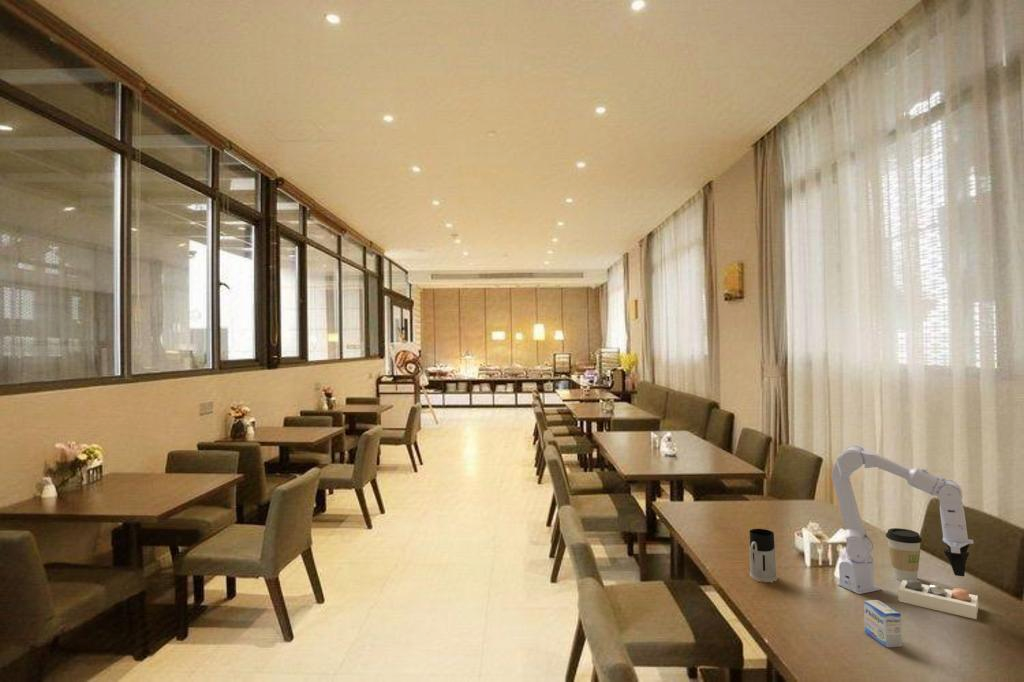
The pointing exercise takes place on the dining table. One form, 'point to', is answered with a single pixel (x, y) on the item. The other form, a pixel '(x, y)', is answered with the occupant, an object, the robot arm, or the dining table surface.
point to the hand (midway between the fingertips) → (959, 571)
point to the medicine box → (882, 623)
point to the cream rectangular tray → (939, 601)
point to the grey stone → (914, 584)
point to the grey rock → (937, 589)
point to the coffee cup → (904, 552)
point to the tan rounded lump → (960, 594)
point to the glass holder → (762, 555)
